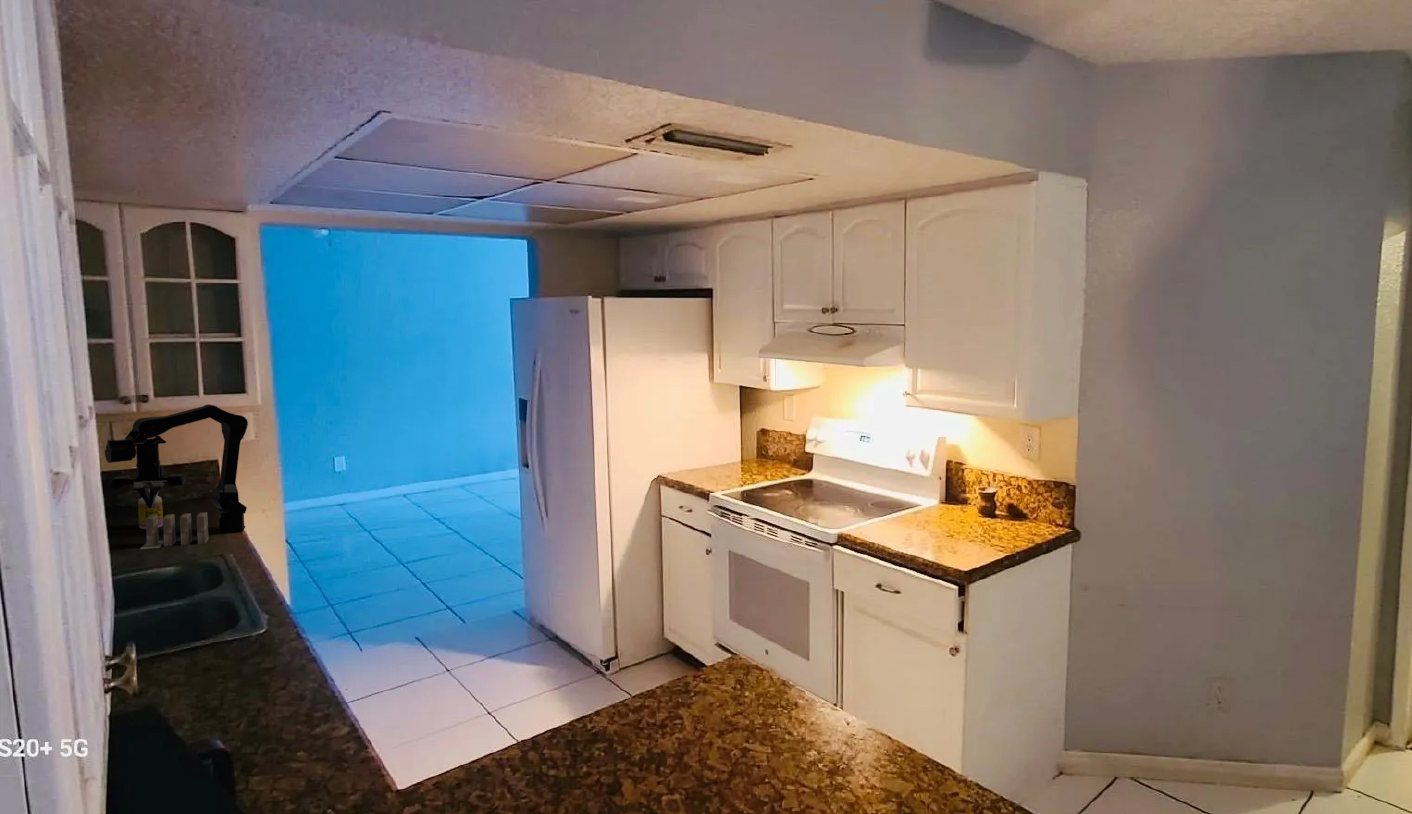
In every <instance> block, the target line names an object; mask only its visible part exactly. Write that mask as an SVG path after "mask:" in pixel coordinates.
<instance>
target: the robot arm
mask: <svg viewBox="0 0 1412 814" xmlns="http://www.w3.org/2000/svg"><path fill="white" fill-rule="evenodd" d="M206 419H212V420H214V421H215V422H216V423H219V424H220V425H221V426H220V427H221V433H222V435H223V442H224V443H223V449H222V458H221V470H220V476H219V482H218V484H217V486H216V487H214V486H212V487H211V496H210V498H209V499H210V500H211V502H212V505H213V506H214V507H216V508H218V511H219V512H220V517H219V518H218V521H219V523H218V524H219V531H220V532H219V533H221V534H226V533H227V534H228V533H241V532H244V530H245V528H246V525H245V514H246V512H247V509H248V507H247V506H246V505H244V504H243V503H241V502H240V500H239V498H240V496H239V491H238V488H237V485H236V484H237V483H236V482H237V473H238V465H239V455H240V448H241V447H240V446H241V441H242V439H243V437H245V435H246V433H247V429H248V427H249V421H248V419H247V418H246V417H245V416H244V415H240V414H235V413H230V412H228V411H226V410H223V409H221V408H219V407H218V406H217V405H213V404H208V403H207V404H205V405H203V406H199V407H195V408H191V409H188V410H184V411H180V412H177V413H172V414H169V415H164V416H148V417H140V418H137V419H136V420H135V421H134V423H133V424H132V429H131V430H130V431H129V433H128V434H127V435H126V436H125V438H124V439H107V440H106V445H105V450H104V457H105V461H106V463H109V464H110V463H118V462H119V463H121V462H129V461H130V462H131V461H132V460H133V459H135V458H136V463H135V466H136V475H137V476H136V477H135V478H133V477H131V475H116V476H115V477H113V478H111V479H110V481H109V487H110V489H123V488H124V487H125V486H126V485H133V488H132V490H133V491H137V492H138V494H139V495H140V496H141V498H143V499H144V501H145V503H146V505H147V506H148V508H152V507H153V504H154V501H155V498H156V495H158V494H159V490H161V489H163V488H164V487H165V486H166V484H167V485H169V486H173V487H174V486H175V487H176V486H183V485H184V484H185V483H187V476H186V474H185V473H171V474H169V475H168V476H164V475H165V466H164V465H162V464H161V461H160V452H159V448H160V447H159V445H160V444H161V445H162V444H167V441H166V440H165V439H163V438H162V436H161V435H162V434H165V433H166V432H168V431H169V430H171V429H173V428H177V427H181V426H184V425H187V424H188V425H189V424H192V423H196V422H199V421H202V420H206ZM150 484H151V486H150ZM149 489H150V491H149ZM157 493H158V494H157Z"/></svg>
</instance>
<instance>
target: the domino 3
mask: <svg viewBox="0 0 1412 814" xmlns="http://www.w3.org/2000/svg"><path fill="white" fill-rule="evenodd" d="M208 521H209V520H208V512H199V513H198V514H197V516H196V531H197V545H205V544H206V543H207V542H208V540H209V525H208V524H209V522H208Z"/></svg>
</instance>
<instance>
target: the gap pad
mask: <svg viewBox="0 0 1412 814" xmlns="http://www.w3.org/2000/svg"><path fill="white" fill-rule="evenodd" d="M162 546H164V540H159V543H158V544H157V545H156V546H155V547H147V542H145V543H144V544H143V545H142V546H141V547H140V548H139V550H149V549H151V550H152V549H160V548H161V547H162Z"/></svg>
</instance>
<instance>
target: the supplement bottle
mask: <svg viewBox="0 0 1412 814" xmlns="http://www.w3.org/2000/svg"><path fill="white" fill-rule="evenodd" d="M149 491H150V488H149ZM158 494H159V492H158V493H157V495H156V498H155V501H154V504H153V507H152V508H148V506H147V505H146V503H145V501H144V499H143V498H142V497H140V498H138V500H137V504H138V505H137V506H138V511H137V512H138V527H139V529H141V530H146V518H147V517H148V516H150V515H158V529H159V528H161V527H163V518H164V517H163V498H162V497H161V496H159V495H158Z"/></svg>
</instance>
